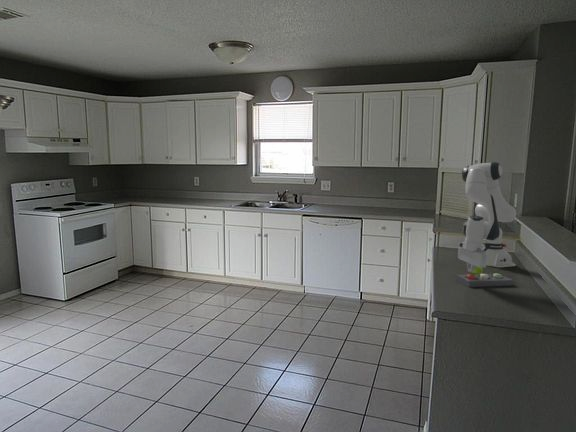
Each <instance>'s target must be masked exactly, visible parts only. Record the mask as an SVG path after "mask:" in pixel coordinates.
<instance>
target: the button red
mask: <svg viewBox="0 0 576 432" xmlns="http://www.w3.org/2000/svg"><path fill="white" fill-rule="evenodd" d="M473 274H474V273H467V274H466V275H467V278H468V279H475V275H473Z"/></svg>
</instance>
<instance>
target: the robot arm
mask: <svg viewBox="0 0 576 432" xmlns="http://www.w3.org/2000/svg"><path fill="white" fill-rule="evenodd" d="M502 176H503V167H502V165H501V164H500V163H499V162H497V161H492V162H481V163H478V164H471V165H467V166H464V167H463V169H462V170H461V178H462V181H463V182H465V188H464V189H465V195H466V197H467V198H468V199H469V200H470V201H471V202H474V203H476V204H477V205H476V206H475V208H474V214H475V215H469V217H468V218H467V220H465V221H464V222H463V223H462V232H461V233H462V234H463V235H464V237H465V239H464V241H463V242H458V251H457V252H458V253H457V258H458V259H459V260H461V261H462V262H466V267H467V272H470V273H471V272H474V269H475V267H476V266H477V267H479V268H483V269H485V268H487V266H488V267H495V268H506V267H507V268H508V267H516V264H515V262H512V261H513V259H512V255H511V254H510V253H508V251H506V250H505V249H504V248H507V247H508V244H506V243H502V241H503V230H502V228H500V224H499V222H500V223H512V222H513V221H515V219H516V216H517V210H516V208H515V207H514V206H512V205H511V204H509V203H508V201H507V200H506V199H505V197H504V196H503V194H502V192H501V187H500V184H499V179H501V178H502ZM483 240H486V241H487V242H485V241H483Z"/></svg>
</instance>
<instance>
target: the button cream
mask: <svg viewBox="0 0 576 432" xmlns="http://www.w3.org/2000/svg"><path fill="white" fill-rule="evenodd" d="M487 274H488V273H482V274H480V278H482V279H488V276H489V275H487Z"/></svg>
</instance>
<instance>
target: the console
mask: <svg viewBox="0 0 576 432" xmlns="http://www.w3.org/2000/svg"><path fill="white" fill-rule="evenodd" d="M472 274H473V275H475V279H468V278H467V274H456V275H455V281H457V282H458V283H460V284H462V285H463V286H465V287H468V288H477V287H507V286H510V287H511V286H513V285H514V280H513V279H512V278H509V277H507V276H505V275H502V277H501V278H497V279H496V278H494V277H493V274H494V273H486V274H487V275H489V276H488V279H482V278H480V274H474V273H472Z"/></svg>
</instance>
